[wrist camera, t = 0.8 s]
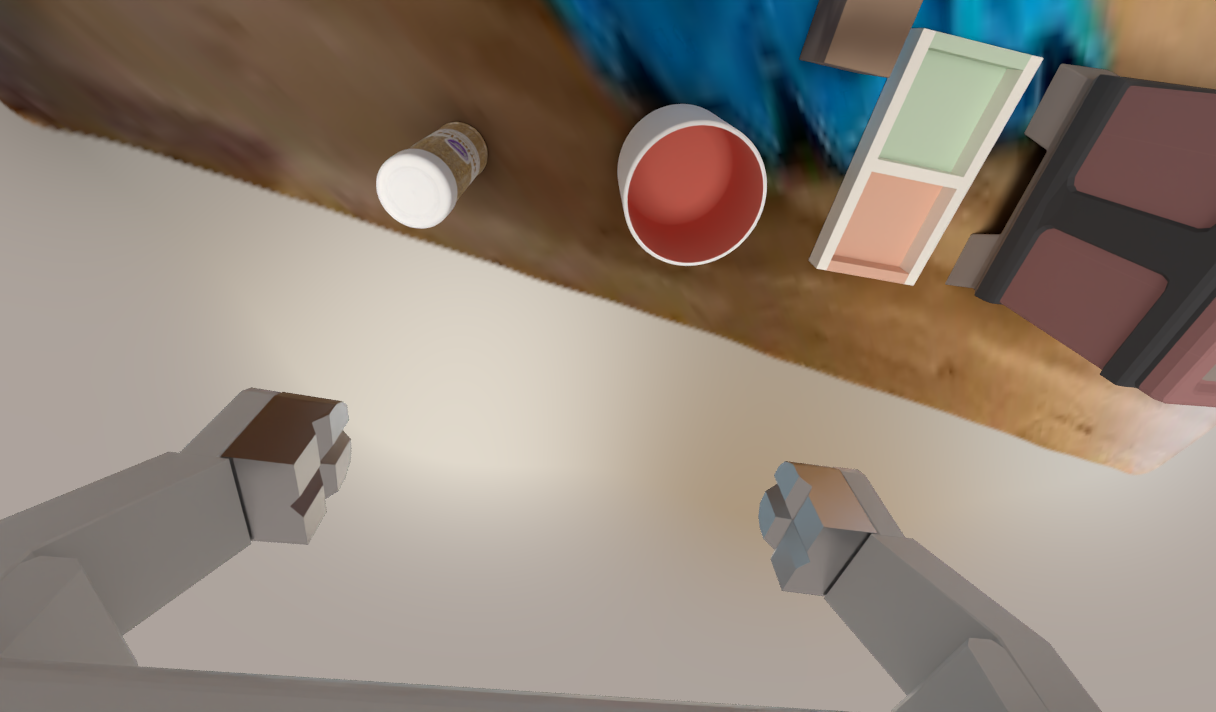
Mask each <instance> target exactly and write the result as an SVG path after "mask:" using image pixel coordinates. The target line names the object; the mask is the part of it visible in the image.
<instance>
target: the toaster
mask: <svg viewBox="0 0 1216 712" xmlns="http://www.w3.org/2000/svg"><path fill="white" fill-rule="evenodd" d="M1024 134H1025V135H1026V136H1028V137H1029V138H1031V139H1032V140H1034V141H1035V142H1036V143H1038V144H1039V145H1041V146H1042V147H1043V148H1045V149H1046V150H1047V152H1046V154H1045V156H1044V158H1043V160H1042V162H1041V163H1040V165H1039V167H1038V169H1037V170H1036V172H1035V174H1034V176H1033V178H1032V179H1031V181H1030V183H1029V185H1028V187H1027V188H1026V190H1025V192H1024V194H1023V196H1022V197H1021V199H1020V201H1019V203H1018V204H1017V206H1016V208H1015V210H1014V212H1013V213H1012V215H1011V217H1010V219H1009V221H1008V222H1007V224H1006V226H1005V228H1004V230H1003V231H1002V233H1001V234H971V235H970V237H969V239H968V241H967V243H966V245H965V247H964V249H963V251H962V253H961V254H960V256H959V258H958V260H957V262H956V264H955V266H954V268H953V270H952V272H951V274H950V275H949V277H948V279H947V281H946V283H945V284H946V285H954V286H961V287H969V288H973V289H976V290H975V296H977V297H978V298H980V299H982V300H984V301H986V302H989V303H994V304H1003V305H1005V306H1006V307H1008V308H1009V309H1011V310H1012V311H1014V312H1015V313H1017V314H1018V315H1020V316H1021V317H1023V318H1024V319H1026V320H1028V321H1029V322H1031V323H1032V324H1034V325H1035V326H1037V327H1038V328H1040V329H1041V330H1043V331H1044V332H1046V333H1047V334H1049V335H1050V336H1052V337H1053V338H1055V339H1056V340H1058V341H1059V342H1061V343H1062V344H1064V345H1066V346H1067V347H1069V348H1070V349H1072V350H1073V351H1075V352H1076V353H1078V354H1079V355H1081V356H1082V357H1084V358H1085V359H1087V360H1088V361H1090V362H1091V363H1093V364H1094V365H1096V366H1097V367H1099V368H1100V369H1102V371H1101V373H1100V375H1101V376H1103V377H1104V378H1106V379H1107V380H1109V381H1110V382H1112V383H1113V384H1115V385H1118V386H1124V387H1134V388H1138V389H1139V390H1141V391H1142V392H1144V393H1145V394H1147V395H1148V396H1150V397H1151V398H1153V399H1156V400H1158V401H1161V402H1163V403H1167V404H1180V405H1194V406H1207V407H1216V90H1215V89H1207V88H1200V87H1193V86H1186V85H1178V84H1171V83H1164V82H1156V81H1149V80H1142V79H1134V78H1127V77H1120V76H1118V75H1116V74H1114V73H1113V72H1111V71H1109V70H1105V69H1097V68H1090V67H1082V66H1075V65H1068V64H1061V65H1060V66H1059V68H1058V70H1057V72H1056V74H1055V76H1054V78H1053V80H1052V82H1051V83H1050V85H1049V87H1048V89H1047V91H1046V93H1045V95H1044V97H1043V99H1042V100H1041V102H1040V104H1039V106H1038V108H1037V110H1036V112H1035V114H1034V116H1033V118H1032V119H1031V121H1030V123H1029V125H1028V127H1027V129H1026V131H1025V133H1024Z"/></svg>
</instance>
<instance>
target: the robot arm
mask: <svg viewBox="0 0 1216 712" xmlns="http://www.w3.org/2000/svg"><path fill="white" fill-rule="evenodd" d="M348 420H349V416H348V410H347V405H346V404H345V403H344V402H342V401H336V400H331V399H324V398H318V397H311V396H305V395H299V394H292V393H286V392H282V393H281V392H276V391H270V390H263V389H257V388H249V389H246V390H243V391H241V392H240V393H239V394H238V395H237V396H236V397H235V398H234V399H233V400H232V401H231V402H230V403H229V404H228V405H227V406H226V407H225V408H224V409H223V410H222V411H221V412H220V413H219V414H218V415H217V416H216V417H215V418H214V419H213V420H212V421H211V422H210V423H209V424H208V425H207V426H206V427H205V428H204V429H203V430H202V431H201V432H200V433H199V434H198V435H197V436H196V437H195V438H194V439H193V440H192V441H191V442H190V443H189V444H188V445H187V446H186V447H185V448H184V449H183V450H182V451H181V452H180V453H175V452H167V453H164V454H162V455H159V456H157V457H155V458H152V459H150V460H147V461H145V462H142V463H140V464H138V465H135V466H132V467H130V468H128V469H125V470H123V471H120V472H118V473H115V474H113V475H110V476H108V477H105V478H103V479H100V480H98V481H96V482H93V483H91V484H88V485H85V486H83V487H81V488H78V489H76V490H73V491H71V492H68V493H66V494H63V495H61V496H58V497H56V498H53V499H51V500H49V501H46V502H44V503H41V504H39V505H36V506H34V507H31V508H29V509H26V510H24V511H22V512H19V513H17V514H14V515H12V516H9V517H7V518H4V519H2V520H0V712H845V711H830V710H815V709H798V708H784V707H767V706H751V705H737V704H721V703H706V702H690V701H674V700H659V699H642V698H628V697H612V696H595V695H580V694H564V693H548V692H530V691H516V690H499V689H484V688H467V687H451V686H435V685H421V684H405V683H389V682H373V681H357V680H340V679H326V678H309V677H294V676H278V675H262V674H246V673H230V672H215V671H200V670H182V669H168V668H152V667H138V664H137V661H136V659H135V657H134V655H133V654H132V652H131V650H130V648H129V647H128V645H127V643H126V642H125V640H124V638H123V635H124V634H125V633H127V632H128V631H130V630H131V629H132V628H134V627H135V626H137V625H138V624H139V623H141V622H142V621H144V620H145V619H146V618H148V617H149V616H151V615H152V614H153V613H155V612H156V611H158V610H159V609H161V608H162V607H163V606H165V605H166V604H167V603H169V602H170V601H172V600H173V599H175V598H176V597H177V596H179V595H180V594H181V593H183V592H184V591H186V590H187V589H188V588H190V587H191V586H192V585H194V584H196V583H197V582H198V581H199V580H201V579H203V578H204V577H205V576H207V575H208V574H210V573H211V572H212V571H214V570H215V569H216V568H218V567H219V566H221V565H222V564H223V563H225V562H226V561H228V560H229V559H231V558H232V557H233V556H235V555H236V554H238V553H239V552H240V551H242V550H243V549H245V548H246V547H247V546H249V545H250V544H251V541H264V542H278V543H292V544H306V545H308V544H309V542H310V540H311V538H312V537H313V535H314V533H315V531H316V529H317V528H318V526H319V524H320V523H321V521H322V519H323V517H324V516H325V514H326V512H327V511H326V503H325V499H326V498H328V497H329V496H331V495H333V494H334V493H336V492H338V491H339V489H340V487H341V485H342V483H343V481H344V479H345V477H346V474H347V471H348V467H349V464H350V459H351V439H350V438H349V437H348V436H347V434H346V433H345V432H344V431H343V428H344V427H345V425H346V424H347V422H348ZM774 476H775V479H776V482H777V484H776V485H775V486H773V487H771V488H770V489H768V490H767V491H765V494H764V496H763V498H762V500H761V502H760V508H759V524H760V530H761V532H762V535H763V539H764V540H765V541H766V542H767V543H768V544H769V545H770V546H771V547H772V548H773V549H774V552H773V555H772V557H771V561H772V564H773V567H774V570H775V572H776V575H777V578H778V581H779V584H780V587H781V589H782V591H787V592H795V593H803V594H811V595H819V596H825V598H824V599H825V600H826V601H827V603H828V604H829V605H830V606H831V607H832V608H833V610H834V611H835V612H836V613H837V614H838V615H839V617H840V618H841V619H842V620H843V621H844V622H845V624H846V625H847V626H848V627H849V628H850V629H851V631H852V632H853V633H854V634H855V635H856V636H857V638H858V639H859V640H860V641H861V642H862V643H863V645H864V646H865V647H866V648H867V649H868V650H869V652H870V653H871V654H872V655H873V656H874V657H875V659H876V660H877V661H878V662H879V663H880V664H881V666H882V667H883V668H884V669H885V670H886V671H887V673H888V674H889V675H890V676H891V677H892V678H893V680H894V681H895V682H896V683H897V684H898V685H899V687H900V688H901V689H902V690H903V691H904V692H905V694H906V695H907V696H906V697H905V698H904V699H903V700H902V701H901V702H900V703H899V704H898V705H897V706H896V707H894V708H893V709H892V711H891V712H1102V711H1101V710H1100V709H1099V707H1098V706H1097V705H1096V703H1095V702H1094V701H1093V699H1092V698H1091V697H1090V695H1089V694H1088V693H1087V691H1086V690H1085V689H1084V688H1083V686H1082V685H1081V684H1080V683H1079V681H1078V680H1077V678H1076V677H1075V676H1074V675H1073V673H1072V672H1071V671H1070V669H1069V668H1068V667H1067V665H1066V664H1065V663H1064V662H1063V660H1062V659H1061V658H1060V656H1059V655H1058V654H1057V653H1056V651H1055V650H1054V648H1053V647H1052V646H1051V644H1050V643H1049V642H1047V641H1046V640H1045V639H1043V638H1042V637H1041V636H1039V635H1038V634H1037V633H1036V632H1034V631H1033V630H1032V629H1030V628H1029V627H1028V626H1026V625H1025V624H1024V623H1022V622H1021V621H1020V620H1019V619H1017V618H1016V617H1015V616H1013V615H1012V614H1011V613H1009V612H1008V611H1007V610H1005V609H1004V608H1003V607H1002V606H1000V605H999V604H998V603H996V602H995V601H994V600H992V599H991V598H990V597H988V596H987V595H986V594H984V593H983V592H982V591H981V590H979V589H978V588H977V587H975V586H974V585H973V584H971V583H970V582H969V581H968V580H966V579H965V578H964V577H962V576H961V575H960V574H958V573H957V572H956V571H954V570H953V569H952V568H951V567H949V566H948V565H947V564H945V563H944V562H942V561H941V560H940V559H939V558H937V557H936V556H935V555H934V554H932V553H931V552H930V551H928V550H927V549H926V548H924V547H923V546H922V545H920V544H919V543H918V542H917V541H915V540H914V539H911V538H905V536H904V535H903V533H902V532H901V530H900V529H899V527H898V526H897V524H896V522H895V521H894V519H893V518H892V516H891V515H890V513H889V512H888V510H887V508H886V507H885V505H884V504H883V502H882V501H881V499H880V498H879V496H878V494H877V493H876V492H875V490H874V488H873V487H872V485H871V484H870V482H869V480H868V479H867V477H866V476H865V475H864V474H863V473H862V472H860V471H859V470H857V469H848V468H839V467H827V466H819V465H812V464H804V463H795V462H788V461H785V462H784V463H782V464H781V465H780V466H779V467H778V469H777V471H776V473H775V475H774Z"/></svg>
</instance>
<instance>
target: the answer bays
mask: <svg viewBox="0 0 1216 712" xmlns="http://www.w3.org/2000/svg"><path fill="white" fill-rule="evenodd" d="M1042 60H1043V58H1041V57H1037V56H1033V55H1029V54H1025V53H1021V52H1017V51H1013V50H1009V49H1005V48H1001V47H997V46H993V45H989V44H985V43H981V42H977V41H973V40H969V39H965V38H961V37H957V36H953V35H949V34H945V33H941V32H937V31H933V30H929V29H925V28H911V29H910V32H909V34H908V36H907V38H906V41H905V43H904V45H903V48H902V50H901V52H900V55H899V57H898V59H897V61H896V64H895V66H894V68H893V71H892V73H891V75H890V78H887V81H886V83H885V85H884V88H883V90H882V92H881V94H880V97H879V99H878V101H877V104H876V106H875V108H874V111H873V113H872V115H871V118H870V120H869V122H868V124H867V127H866V129H865V131H864V134H863V136H862V138H861V141H860V143H859V145H858V147H857V150H856V152H855V154H854V157H853V159H852V161H851V164H850V166H849V168H848V170H847V173H846V175H845V177H844V180H843V182H842V184H841V187H840V189H839V191H838V193H837V196H836V198H835V200H834V203H833V205H832V207H831V210H830V212H829V214H828V216H827V219H826V221H825V223H824V226H823V228H822V230H821V233H820V235H819V237H818V240H817V242H816V244H815V246H814V249H813V251H812V253H811V256H810V258H809V261H810V262H811V263H812V264H813V265H814V266H815V268H816V269H822V270H828V271H833V272H839V273H845V274H850V275H856V276H862V277H867V278H873V279H879V280H884V281H890V282H896V283H901V284H907V285H914V284H915V282H916V280H917V279H918V277H919V275H920V273H921V272H922V270H923V268H924V266H925V265H926V263H927V261H928V259H929V258H930V256H931V254H932V252H933V251H934V249H935V247H936V245H937V244H938V242H939V240H940V238H941V237H942V235H943V233H944V231H945V230H946V228H947V226H948V224H949V223H950V221H951V219H952V217H953V216H954V214H955V212H956V210H957V209H958V207H959V205H960V203H961V202H962V200H963V198H964V196H965V195H966V193H967V191H968V189H969V188H970V186H971V184H972V182H973V181H974V179H975V177H976V175H977V174H978V172H979V170H980V168H981V167H982V165H983V163H984V161H985V160H986V158H987V156H988V154H989V153H990V151H991V149H992V147H993V146H994V144H995V142H996V140H997V139H998V137H999V135H1000V134H1001V132H1002V130H1003V128H1004V127H1005V125H1006V123H1007V121H1008V120H1009V118H1010V116H1011V114H1012V113H1013V111H1014V109H1015V107H1016V106H1017V104H1018V102H1019V100H1020V99H1021V97H1022V95H1023V93H1024V92H1025V90H1026V88H1027V86H1028V85H1029V83H1030V81H1031V79H1032V78H1033V76H1034V74H1035V72H1036V71H1037V69H1038V67H1039V65H1040V64H1041V62H1042Z"/></svg>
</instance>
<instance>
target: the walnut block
mask: <svg viewBox="0 0 1216 712" xmlns="http://www.w3.org/2000/svg"><path fill="white" fill-rule="evenodd" d="M922 2H923V0H819V3H818V6H817V8H816V11H815V14H814V17H813V20H812V23H811V26H810V29H809V32H808V35H807V38H806V41H805V43H804V46H803V49H802V52H801V55H800V58H799V60H803V61H808V62H812V63H816V64H821V65H825V66H829V67H833V68H838V69H842V70H846V71H851V72H855V73H860V74H867V75H874V76H880V77H887V78H890V75H891V73H892V71H893V68H894V66H895V64H896V61H897V59H898V57H899V55H900V52H901V50H902V48H903V45H904V43H905V41H906V38H907V36H908V34H909V32H910V29H911V27H912V25H913V22H914V20H915V18H916V15H917V13H918V11H919V8H920V6H921V4H922Z"/></svg>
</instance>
